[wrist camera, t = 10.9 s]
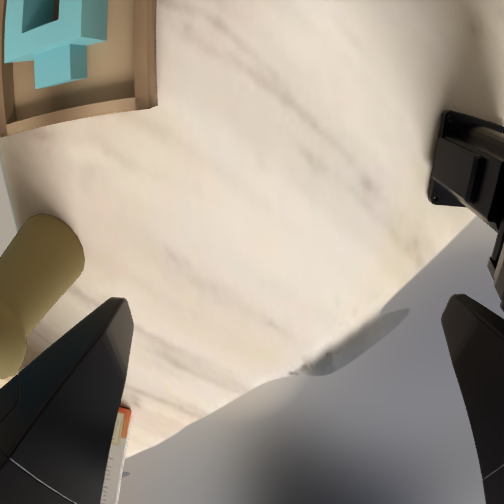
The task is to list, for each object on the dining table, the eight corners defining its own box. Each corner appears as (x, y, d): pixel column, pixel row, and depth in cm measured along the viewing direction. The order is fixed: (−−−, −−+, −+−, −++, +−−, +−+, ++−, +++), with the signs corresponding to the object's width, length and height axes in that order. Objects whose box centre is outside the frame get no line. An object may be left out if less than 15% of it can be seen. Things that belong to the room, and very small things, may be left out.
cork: (11, 218, 19) (-77, 311, 9) (71, 210, 19) (-23, 320, 9) (36, 283, 22) (-27, 383, 12) (94, 282, 22) (36, 402, 13)
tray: (164, -100, 8) (158, -112, 7) (157, 105, 16) (148, 108, 14) (20, -52, 8) (6, -56, 6) (16, 130, 15) (0, 137, 14)
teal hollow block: (107, 73, 14) (81, 75, 11) (37, 90, 14) (6, 97, 11) (115, -71, 9) (94, -90, 6) (43, -46, 9) (16, -57, 6)
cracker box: (36, 395, 32) (-4, 525, 14) (28, 371, 29) (-24, 517, 11) (132, 428, 34) (111, 571, 17) (133, 409, 31) (107, 573, 14)
